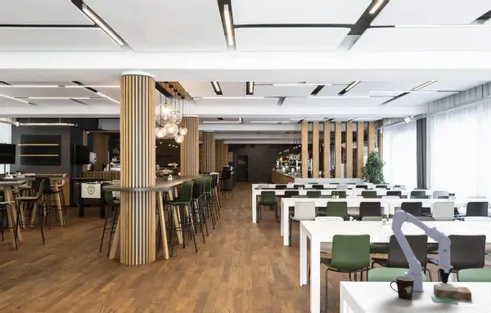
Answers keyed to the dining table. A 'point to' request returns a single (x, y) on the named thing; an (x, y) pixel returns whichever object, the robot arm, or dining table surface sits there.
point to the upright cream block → (447, 287)
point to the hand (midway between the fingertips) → (444, 283)
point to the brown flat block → (454, 293)
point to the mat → (444, 300)
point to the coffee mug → (404, 287)
